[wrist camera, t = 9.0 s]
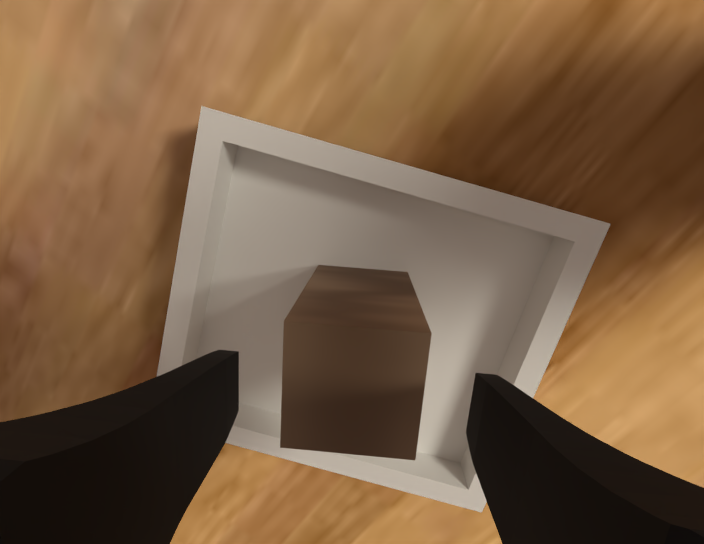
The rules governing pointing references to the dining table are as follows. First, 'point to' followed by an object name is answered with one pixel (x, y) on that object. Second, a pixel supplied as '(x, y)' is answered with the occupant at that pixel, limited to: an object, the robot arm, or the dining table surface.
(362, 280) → the walnut block
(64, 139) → the dining table surface
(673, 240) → the dining table surface
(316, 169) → the tray
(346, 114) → the dining table surface
